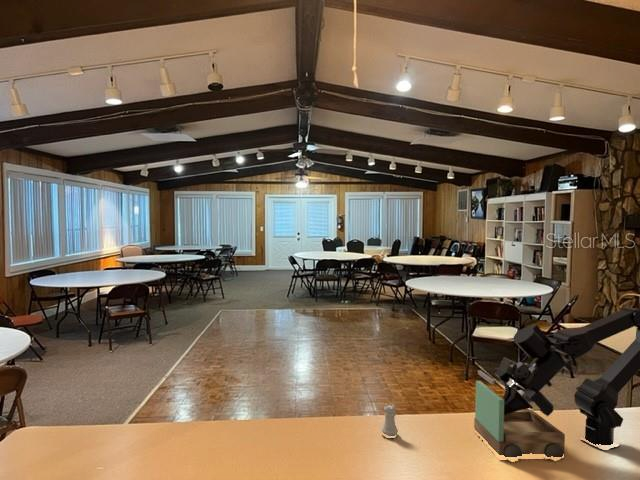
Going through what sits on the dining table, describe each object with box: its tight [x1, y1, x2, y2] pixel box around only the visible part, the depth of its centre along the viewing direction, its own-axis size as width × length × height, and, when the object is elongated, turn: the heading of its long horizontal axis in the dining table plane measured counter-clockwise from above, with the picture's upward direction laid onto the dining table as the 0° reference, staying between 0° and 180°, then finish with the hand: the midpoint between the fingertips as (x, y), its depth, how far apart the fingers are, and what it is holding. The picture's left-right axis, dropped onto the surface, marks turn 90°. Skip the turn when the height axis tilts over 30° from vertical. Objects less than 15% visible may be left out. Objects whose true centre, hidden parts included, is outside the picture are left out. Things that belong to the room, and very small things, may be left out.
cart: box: [473, 409, 566, 457], centre depth 107 cm, size 16×16×6 cm
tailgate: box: [474, 369, 504, 442], centre depth 107 cm, size 2×13×14 cm, turn 3°
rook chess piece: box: [381, 403, 399, 436], centre depth 111 cm, size 4×4×8 cm
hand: (498, 413), depth 107 cm, fingers closed
